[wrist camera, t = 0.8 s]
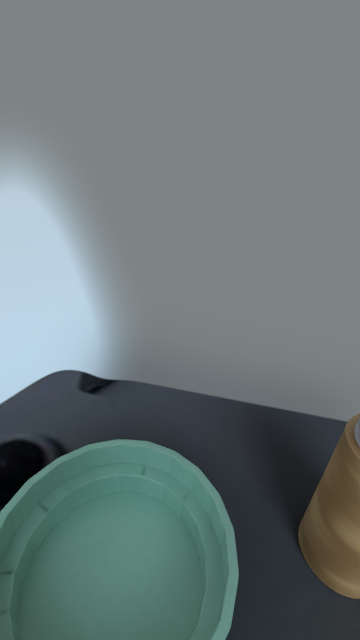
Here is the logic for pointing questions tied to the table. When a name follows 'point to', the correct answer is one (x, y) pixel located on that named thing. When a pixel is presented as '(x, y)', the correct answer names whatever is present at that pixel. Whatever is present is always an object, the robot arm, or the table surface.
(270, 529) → the table surface
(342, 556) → the pepper mill
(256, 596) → the table surface
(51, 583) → the green shallow bowl
